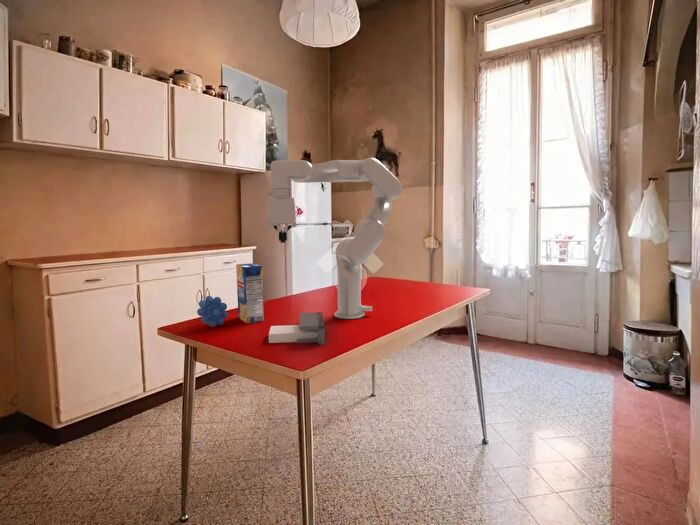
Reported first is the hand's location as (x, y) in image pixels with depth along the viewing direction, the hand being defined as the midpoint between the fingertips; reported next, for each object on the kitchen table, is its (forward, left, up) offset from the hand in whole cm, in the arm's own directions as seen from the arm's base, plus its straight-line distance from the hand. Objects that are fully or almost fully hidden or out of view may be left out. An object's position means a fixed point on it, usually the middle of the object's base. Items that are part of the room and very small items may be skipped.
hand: (283, 242), depth 151 cm
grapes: (+26, +4, -31) cm, 41 cm away
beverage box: (+14, -6, -31) cm, 35 cm away
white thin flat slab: (-4, +21, -31) cm, 38 cm away
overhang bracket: (-10, +21, -31) cm, 39 cm away
